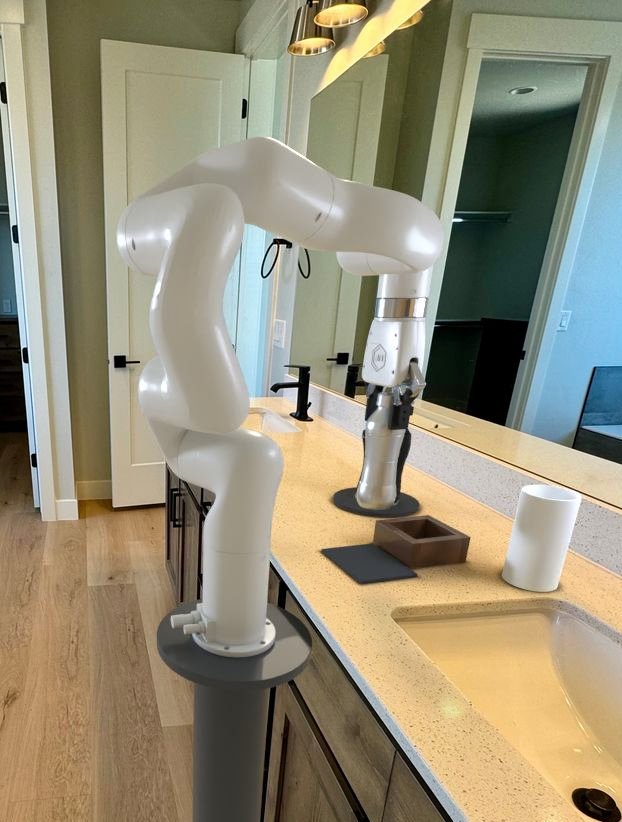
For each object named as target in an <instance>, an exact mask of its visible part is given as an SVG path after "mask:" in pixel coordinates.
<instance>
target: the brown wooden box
mask: <svg viewBox="0 0 622 822" xmlns="http://www.w3.org/2000/svg"><path fill="white" fill-rule="evenodd" d="M471 538H472V537H471V536H469V535H467V534H466V533H464V532H462V531H460V530H458V529H456V528H455V527H452V526H451V525H449V524H447V523H445V522H443V521H441V520H439V519H437V518H435V517H433V516H431V515H429V514H425V515H416V516H404V517H395V518H385V519H376V520H375V524H374V532H373V538H372V543H373V544H375V545H376V546H378V547H379V548H380V549H382V550H383V551H385V552H386V553H388V554H389V555H391V556H392V557H394V558H395V559H396V560H398V561H399V562H401V563H402V564H404V565H405V566H407V567H408V568H410V569H411V570H413V569H418V568H427V567H435V566H442V565H443V566H445V565H452V564H460V563H466V562H467V561H466V560H467V557H468V554H469V553H468V551H469V546H470V542H471Z"/></svg>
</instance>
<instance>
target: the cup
mask: <svg viewBox="0 0 622 822" xmlns="http://www.w3.org/2000/svg"><path fill="white" fill-rule="evenodd" d="M582 499H583V498H582V495H581V493H579V492H577V491H575V490H572V489H569V488H565V487H561V486H556V485H549V484H527V485H524V486H523V487H522V488H521V490H520V494H519V498H518V503H517V505H516V512H515V514H514V515H515V516H514V520H513V523H512V529H511V533H510V538H509V541H508V546H507V549H506V555H505V559H504V564H503V567H502V572H501V577H502V580H504V582H506V583H508V584H509V585H512V586H514V587H516V588H519V589H522V590H526V591H531V592H536V593H537V592H539V593H546V592H553V591H555V590H557V589H558V587H559V583H560V579H561V576H562V572H563V569H564V565H565V561H566V558H567V554H568V550H569V547H570V543H571V539H572V536H573V532H574V528H575V524H576V520H577V516H578V514H579V511H580V510H579V509H580V506H581V502H582Z"/></svg>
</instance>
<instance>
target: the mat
mask: <svg viewBox="0 0 622 822" xmlns="http://www.w3.org/2000/svg"><path fill="white" fill-rule="evenodd" d="M321 553H323V555H325V556H326V557H327V558H329V559H330V560H331V561H332V562H333V563H335V564H336V565H337V566H338V567H339V568H341V569H342V570H343V571H344V572H346V573H347V575H349V576H350V577H351V578H353V579H354V580H355V581H356V582H357V583H359V585H364V584H372V583H373V584H374V583H380V582H387V581H396V580H403V579H410V578H417V577H418V573H417V572H415V571H414V570H413V569H410V568H408V567H407V566H405V565H404V564H402V563H401V562H399V561H398V560H396V559H395V558H394V557H392V556H391V555H389V554H388V553H386V552H385V551H383V550H382V549H380V548H379V547H378V546H376V545H375V544H373V542H371V543H370V542H369V543H363V544H362V543H361V544H354V545H345V546H335V547H327V548H322V549H321Z"/></svg>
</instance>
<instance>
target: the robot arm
mask: <svg viewBox="0 0 622 822" xmlns="http://www.w3.org/2000/svg"><path fill="white" fill-rule="evenodd" d="M245 225H251V226H254V227H257V228H259V229H262V230H264V231H266V232H268V233H269V234H270V233H271V234H272V235H274V236H277V237H279V238H281V239H283V240H286V241H287V242H289V243H291V244H294V245H296V246H298V247H300V248H303V249H306V250H309V251H310V250H311V251H316V252H324V253H335V256H336V260H337V263H338V265H339V266H340V268H342V270H343V271H345V272H346V273H348V274H350V275H353V276H358V277H368V276H371V277H372V276H378V284H377V291H376V292H377V293H376V300H375V308H374V309H375V310H374V315H373V316H374V317H373V320H372V322H371V325H370V328H369V330H368V331H369V332H368V336H367V340H366V345H365V350H364V356H363V362H362V369H361V378H362V380H363V381H364V387H365V397H366V402H365V403H366V404H365V413H364V421H365V422H367V420H368V419H369V417H370V416H371V415H372V413H373V412H374V411H375V410H376V409H377V407H378V405H376V402H377V398H378V393H382V392H386V389H387V388H392V390H393V393H394V400H395V405H392V407H391V414H390V422H389V429H390V430H403V429H407V428H408V429H409V423H410V411H411V406H413V405H415V401H416V400H417V398H418V397H419V395H420V393H421V392H422V391H423V390H424V389H425V387H426V386H427V382H426V380H425V378H424V375H423V370H424V369H423V368H424V362H425V353H426V336H427V335H426V331H427V330H426V327H427V326H426V318H427V313H428V305H429V297H430V292H431V285H432V277H433V272H434V271H433V270H434V264H435V263H436V262H437V261H438V259H439V258H440V255H441V254H442V250H443V247H444V241H445V240H444V239H445V233H444V228H443V225H442V222H441V220H440V218H439V217H438V215H437V214H436V213H435V212H434V211H433V209H431V208H430V207H428V206H427V204H424V203H423V202H422V201H420V200H419V199H417V198H416V197H414V196H411V195H409V194H407V193H404V192H400V191H397V190H392V189H389V188H385V187H379V186H374V185H371V184H366V183H363V182H359V181H354V180H348V179H343V178H340V177H337V176H336V175H334V174H332V173H330V172H329V171H328V170H325V169H324V168H322V167H320V166H319V165H318V164H316V163H314V162H313V161H311V160H310V159H308V158H307V157H305V156H304V155H302V154H300V153H299V152H297V151H295V150H294V149H292V148H291V147H289V146H288V145H286V144H284V143H283V142H281V141H279V140H277V139H274V138H272V137H268V136H254V137H249V138H245V139H243V140H242V139H241V140H239V141H235V142H233V143H229V144H226V145H223V146H219V147H215V148H213V149H210V150H209V149H208V150H207V151H205V152H203V153H201V154H199V155H197V156H196V157H194V158H193V159H191V160H189V161H188V162H187V163H186V164H184V165H182V166H181V167H180V168H178V169H176V170H175V171H174V172H172V173H170V174H169V175H168V176H166V177H165V178H163V179H162V180H160V181H159V182H157V183H155V184H154V185H153V186H152V187H150V188H148V189H147V190H145V191H144V192H142V193H141V194H140V195H138V196H136V197H135V198H134V199H132V201H131V202H129V204H128V205H127V206H126V207H125V208H124V209H123V211H122V213H121V215H120V217H119V220H118V223H117V226H116V232H115V233H116V234H115V235H116V237H115V239H116V245H117V250H118V253H119V255H120V257H121V259H122V261H123V262H124V263H125V264H126V265H127V267H128V268H130V269H131V270H132V271H133V272H135V273H137V274H139V275H142V276H146V277H147V276H148V277H157V279H156V281H155V282H156V283H155V285H154V289H153V292H152V295H151V296H152V297H151V301H150V306H149V318H148V321H149V323H148V324H149V330H150V331H149V332H150V335H151V339H152V342H153V345H154V347H155V351H156V352H157V355H155V356H154V357H152V358H151V359H150V360H149V361H147V363H146V364H145V366H144V367H143V369H142V371H141V372H140V375H139V379H138V384H137V396H138V397H137V398H138V403H139V408H140V411H141V413H142V415H143V417H144V419H145V422H146V424H147V426H148V428H149V430H150V432H151V435H152V436H153V438H154V441H155V442H156V444H157V446H158V448H159V450H160V452H161V454H162V456H163V458H164V460H165V462H166V464H167V465H168V467H169V468H170V470H171V471H172V472H173V474H174V475H175V476H176V477H177V478H178V479H180V480H182V481H184V482H186V483H188V484H191V485H193V486H197V487H199V488H202V489H205V490H207V491H210V492H211V493H214V494H215V499H214V502H213V504H212V505H211V507H210V509H209V511H208V512H207V514H206V516H205V519H204V523H203V531H202V535H203V536H202V540H203V547H202V548H203V551H202V554H203V555H202V556H203V557H202V599H203V603H198V604H197V610H196V611H191V614H184V615H183V614H180V615H173V616H171V625H172V628H181V627H183V631H184V634H192V636H193V639H194V640H195V642H196V643H197V644H198V645H199V646H200V647H202V648H203V649H205V650H206V651H209V652H211V653H213V654H217V655H220V656H225V657H234V658H239V657H250V656H254V655H258V654H260V653H262V652H265V651H266V650H268V649H269V648H270V647H271V646H272V645H273V644H274V641H275V636H276V631H275V627H274V625H273V624H272V623H271V621H270V620H269V619H267V618H266V612H267V603H268V595H269V594H268V593H269V580H270V578H269V577H270V563H271V547H272V532H273V531H272V529H273V527H272V526H273V518H274V510H275V506H276V500H277V496H278V492H279V488H280V486H281V485H280V484H281V481H282V478H283V473H284V467H285V461H284V454H283V451H282V449H281V447H280V446H279V444H278V443H277V442H276V441H275V440H274V439H273V438H272V437H270V436H269V435H267V434H265V433H263V432H260V431H259V430H255V429H253V428H248V427H243V426H242V425H243V424H244V423H245V421H246V420H247V418H248V416H249V413H250V407H251V406H250V405H251V401H250V393H249V388H248V385H247V382H246V379H245V377H244V373H243V370H242V368H241V365H240V362H239V359H238V356H237V353H236V351H235V348H234V344H233V342H232V339H231V335H230V333H229V330H228V326H227V322H226V318H225V314H224V296H225V292H226V291H225V290H226V286H227V284H228V278H229V276H230V273H231V270H232V268H233V266H234V263H235V261H236V260H237V259H236V258H237V257H238V254H239V252H240V249H241V246H242V243H243V240H244V233H245ZM402 391H404V392H403V393H402Z"/></svg>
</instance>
